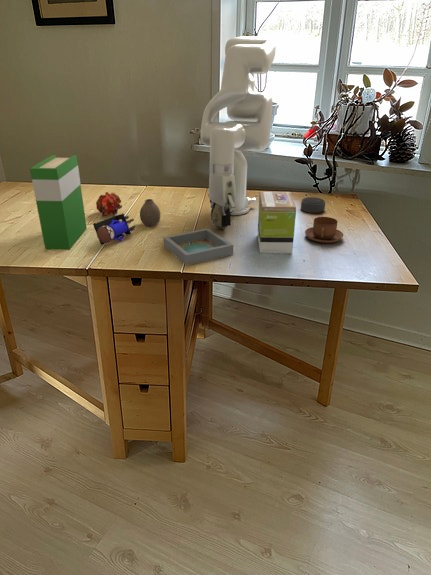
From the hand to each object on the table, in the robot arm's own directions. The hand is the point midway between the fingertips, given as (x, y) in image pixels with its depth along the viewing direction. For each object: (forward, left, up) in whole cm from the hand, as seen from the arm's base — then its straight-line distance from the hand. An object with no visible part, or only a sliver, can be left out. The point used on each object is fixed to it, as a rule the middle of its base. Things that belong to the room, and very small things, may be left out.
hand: (220, 222), depth 146 cm
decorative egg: (0, 0, -3) cm, 3 cm away
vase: (+19, -15, -3) cm, 24 cm away
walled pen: (+15, +12, -2) cm, 19 cm away
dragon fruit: (+28, -32, -3) cm, 43 cm away
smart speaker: (-41, -1, -3) cm, 41 cm away
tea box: (-8, +19, -3) cm, 21 cm away
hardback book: (+47, -16, -3) cm, 50 cm away
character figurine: (+34, -7, -3) cm, 35 cm away
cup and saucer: (-25, +23, -3) cm, 34 cm away
